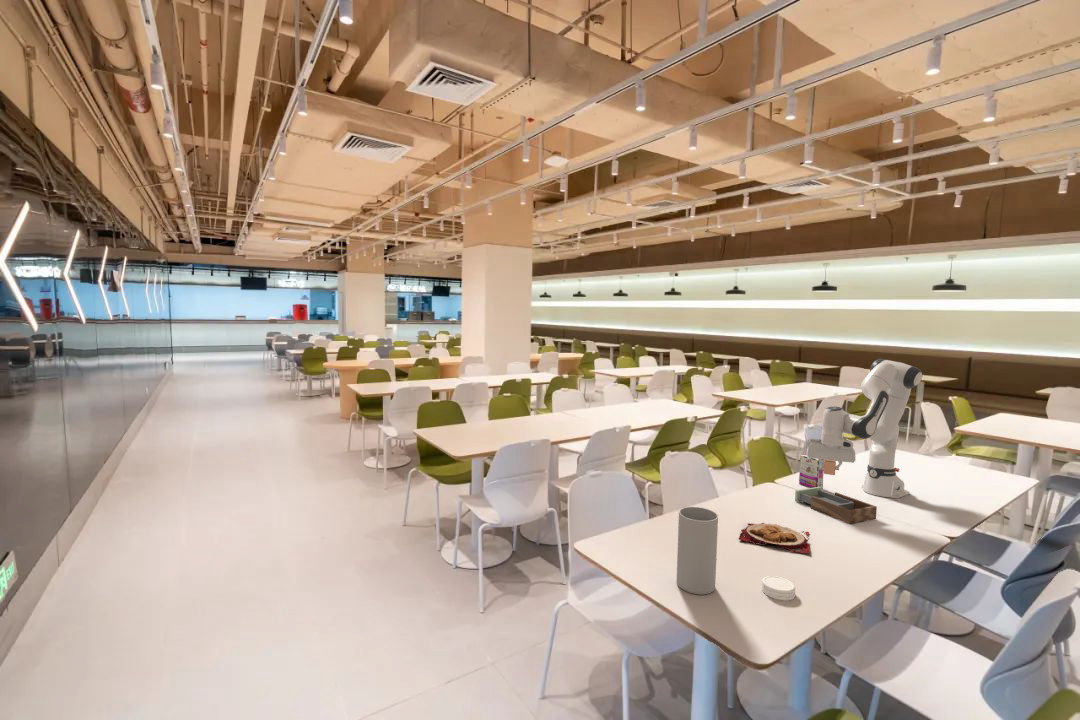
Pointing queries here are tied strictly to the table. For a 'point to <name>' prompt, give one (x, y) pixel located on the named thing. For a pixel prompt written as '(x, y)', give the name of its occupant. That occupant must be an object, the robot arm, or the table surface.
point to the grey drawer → (822, 497)
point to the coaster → (778, 588)
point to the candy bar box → (810, 472)
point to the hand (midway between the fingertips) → (829, 468)
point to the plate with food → (775, 537)
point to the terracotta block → (829, 467)
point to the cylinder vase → (697, 550)
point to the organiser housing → (845, 510)
